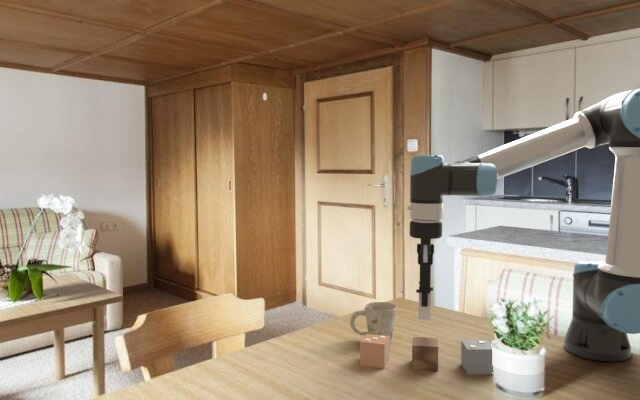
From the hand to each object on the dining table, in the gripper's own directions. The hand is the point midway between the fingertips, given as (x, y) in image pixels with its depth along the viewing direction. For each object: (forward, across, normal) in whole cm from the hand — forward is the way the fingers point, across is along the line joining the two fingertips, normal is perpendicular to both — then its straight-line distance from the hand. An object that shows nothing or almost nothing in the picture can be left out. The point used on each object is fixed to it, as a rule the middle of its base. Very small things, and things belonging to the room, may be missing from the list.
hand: (424, 318), depth 127 cm
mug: (+12, -14, -14) cm, 23 cm away
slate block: (+12, 0, +12) cm, 17 cm away
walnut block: (+12, 0, 0) cm, 12 cm away
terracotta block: (+12, 0, -12) cm, 17 cm away
